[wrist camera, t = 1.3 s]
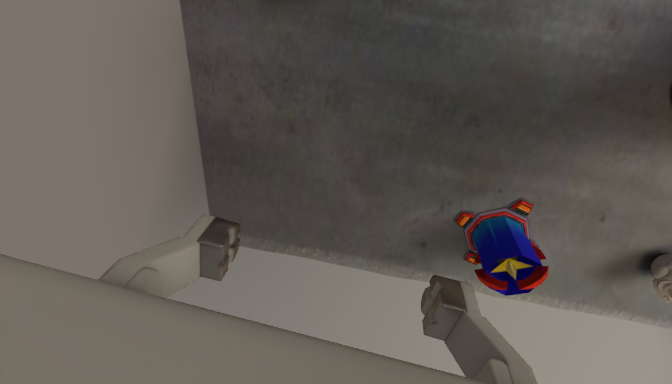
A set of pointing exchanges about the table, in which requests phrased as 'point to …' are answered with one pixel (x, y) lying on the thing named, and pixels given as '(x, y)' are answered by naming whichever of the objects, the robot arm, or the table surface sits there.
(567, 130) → the table surface
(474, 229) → the fantasy tower
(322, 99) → the table surface
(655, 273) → the frog figurine
